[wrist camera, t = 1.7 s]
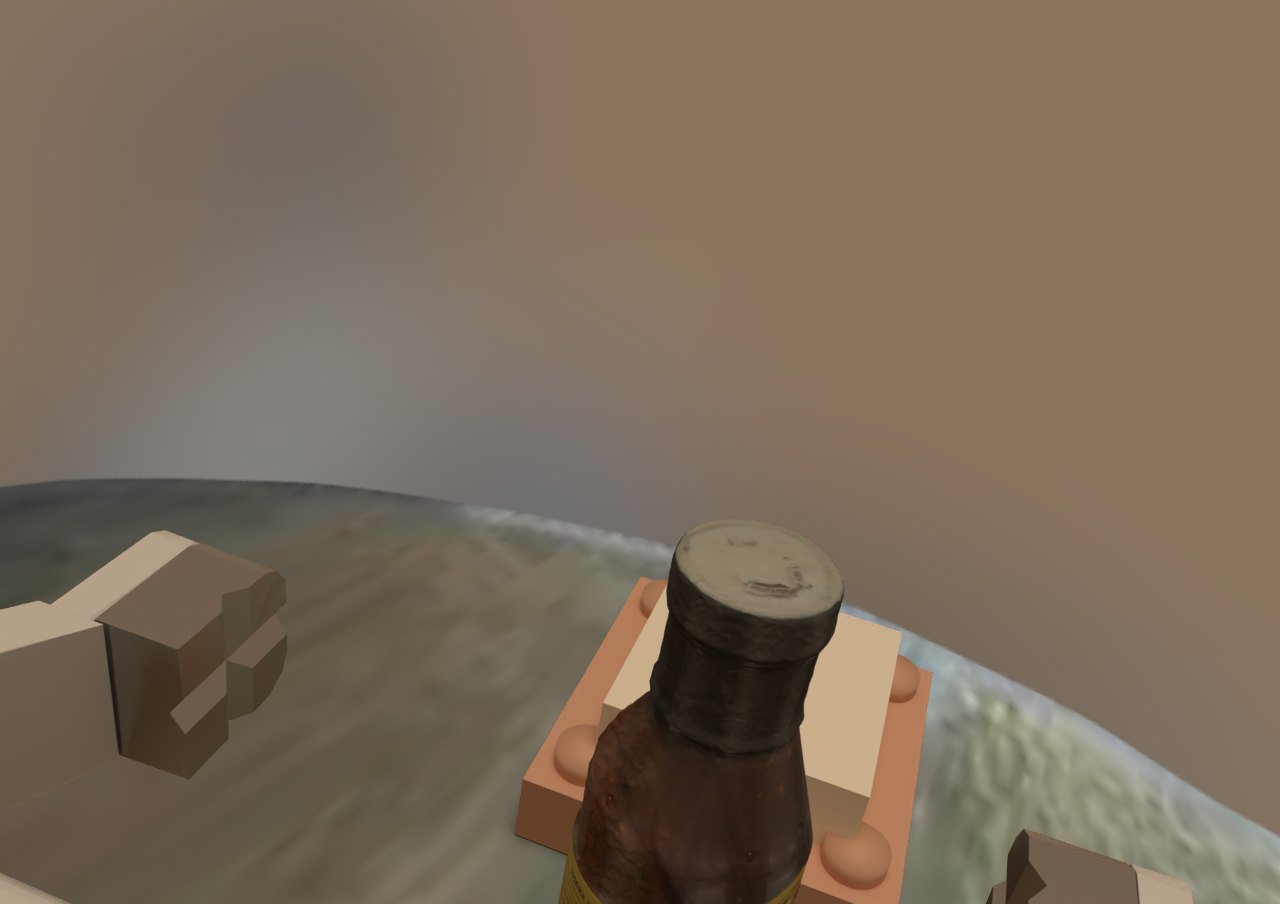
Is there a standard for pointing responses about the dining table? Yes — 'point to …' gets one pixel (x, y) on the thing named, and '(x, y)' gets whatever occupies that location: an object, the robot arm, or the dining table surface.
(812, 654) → the sauce bottle
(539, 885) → the dining table surface
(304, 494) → the dining table surface
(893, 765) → the brick stack
